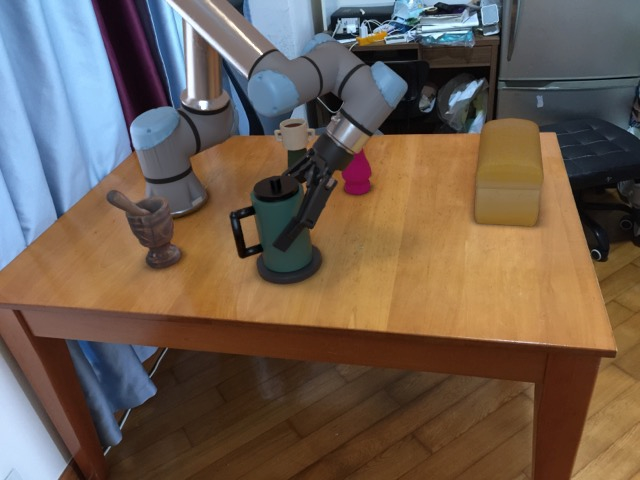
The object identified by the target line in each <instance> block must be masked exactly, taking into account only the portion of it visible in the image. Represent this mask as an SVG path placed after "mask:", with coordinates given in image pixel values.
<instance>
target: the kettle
mask: <svg viewBox="0 0 640 480" xmlns="http://www.w3.org/2000/svg"><path fill="white" fill-rule="evenodd" d="M303 185H304V184H301V183H299V182H298V181H297V179H295V178H294V177H291V176H285V175H282V174H280V175H271V176H268V177H265V178H263V179H260V180H259V181H257V182H256V183H255V184H254V185H253V188H252V190H251V191H250V194H249V197H250V203H251V205H249V206H245V207H242V208H239V209H236V210H233V211H231V212H230V213H229V214H228V218H229V222H230V226H231V230H232V235H233V238H234V243H235V248H236V252H237V256H238V257H239V259H242V260H243V259H247V258H250V257H253V256H256V255H258V254H259V255H260V254H261V253H262V256H263V261H264V264H265V266H266V267H267V268H268V269H270V270H272V271H276V272H291V271H295V270H298V269H301V268H303V267H304V266H306V265H307V264H308V263H309V262H310V261H311V260H312V257H313V251H312V244H313V243H312V238H311V231H310V230H311V229H309V228H307V227H305V228H304V229H303V230H302V232H301V233H300V234H299V235H298V237H297V238H296V239H295V240H294V242H293V243H292V244H291V245H290V247H289V248H288V249H287V250H286V252H285V253H284V252H282V251H281V250H279V249H277V248H275V247H273V245H272V244H273V242H274V241H275V240H276V239H277V237H278V236H279V235H280V234H281V232H282V231H283V230H284V228H285V227H286V226H287V225H288V223H289V222H290V221H291V220H292V217H294V216H297V214H298V212H299V209H300V206H301V204H302V201H303V198H304V195H305V190H304V186H303ZM326 205H327V203H326V204H325V206H324V208H323V210H325V208H326ZM251 216H253V218H254V221H255V226H256V232H257V237H258V241H259V243H257V244H254V245H252V246H251V245H250V246H248V247H247V245H246V240H245V236H244V232H243V228H242V223H241V220H242V219H245V218H249V217H251Z"/></svg>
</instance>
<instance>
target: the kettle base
mask: <svg viewBox="0 0 640 480" xmlns="http://www.w3.org/2000/svg"><path fill="white" fill-rule="evenodd" d="M311 244H312V251H313V257H312V260H311V261H310V262H309V263H308V264H307V265H306V266H304V267H303V268H301V269H298V270H295V271H291V272H276V271H272V270H270V269H268V268H267V267H266V266H265V264H264V261H263V256H262V253H259V255H258V256H257V259H256V270H257V273H258V275H259V277H260V278H262V280H264V281H266V282H267V283H271V284H275V285H292V284H297V283H301V282H303V281H306V280H308V279H309V278H311V277H313V276H314V275H315V274H316V273H317V272H318V271H319V270H320V268H321V267H322V255H321V251H320V249H319V248H318V247H317V246H316V245H314V244H313V243H311Z"/></svg>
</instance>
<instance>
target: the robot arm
mask: <svg viewBox="0 0 640 480" xmlns="http://www.w3.org/2000/svg"><path fill="white" fill-rule="evenodd" d="M164 1H165V2H166V3H167V4H168V5H169V6H170V7H171V8H172V9H173V10H174V11H175V12H176V13H177V14H178V15H179V16H180V17H181V27H182V41H183V42H182V43H183V60H184V73H185V88H184V89H183V90H182V91H181V92H180V95H179V96H180V97H179V100H180V107H179V108H175V107H173V106H159V107H157V108H152V109H149V110H146V111H145V112H143V113H141V114H140V115H138V116H137V117H136V118H134V120H133V121H132V122H131V124H130V127H129V131H130V137H131V143H132V146H133V148H134V150H135V151H134V152H135V154H136V157H137V160H138V162H139V166H140V168H141V171H142V172H141V173H142V175H143V178H144V182H145V190H144V191H145V193H144V198H149V197H163V198H165V199H167V200H168V205H169V208H170V212H171V215H172V218H173V219H178V218H181V217H185V216H188V215H191V214H193V213H195V212H197V211H198V210H200V209H202V207H204V205H206V203H207V201H208V194H207V191H206V188H205V186H204V185H203V182H201V180H200V179H199V177H198V176H197V174H196V173H195V171H194V168H193V166H192V161H191V158H192V157H194V156H196V155H198V154H201V153H202V152H205V151H207V150H210V149H212V148H214V147H216V146H218V145H221V144H224V143H225V142H227V140H230V139H231V138H233V136H235V134H236V133H237V131H238V128H239V125H240V115H239V111H238V109H236V107H237V105H236V102H235V101H234V100H233V99H232V98H231V96H230V95H229V93H228V92H227V90H225V89H224V83H223V81H224V80H223V77H224V75H223V74H224V72H223V69H224V67H223V63H224V62H223V59H224V60H225V61H226V62H227V63H228V64H229V65H231V67H232V68H234V70H235V71H237V73H238V74H240V75H241V76H242V77H243V79H245V81H247V82H248V83H247V95H248V99H249V101H250V102H251V103H252V105H253V106H252V107H253V108H254V110H255V111H256V112H257V113H258V114H260V116H263V117H266V118H275V117H278V116H282V115H285V114H288V113H291V112H292V111H294V110H296V109H297V108H300V106H303V105H305V104H306V103H308V102H310V101H313V100H316V99H318V98H320V97H322V96H324V95H327V94H329V93H332V94H333V95H334V96H336V97H337V98H338V99H339V100H340V101H341V102H344V103H343V104H342V106H341V107H340V108H339V110H338V111H337V112H336V114H335V115H332V116H331V117H330V121H329V123H328V125H327V126H326V128H325V129H326V131H323V132H321V133H320V134H319V136H318V138H316V139H315V140H314V143H313V144H312V146H311V147H310V148H309V149H307V152H306V153H305V155H304V156H302V157H301V158H300V159H299V160H298V161H297V162H295V163H294V164H293V165H292V166H291V167H289V168H288V167H287V169H286V170H285V171H284V172H282V173H281V175H285V176H291V177H294V178H295V179H297V181H298V182H299V183H301V184H302V185H304V183H305V188H306V190H305V192H304V198H303V201H302V204H301V206H300V209H299V212H298V214H297V216H294V217H292V220H291V221H290V222H289V223H288V225H287V226H286V227H285V228H284V230H283V231H282V232H281V234H280V235H279V236H278V237H277V239H276V240H275V241H274V242H273V244H272V245H273V247H275V248H277V249H279V250H281V251H282V252H284V253H285V252H286V250H287V249H288V248H289V247H290V245H291V244H292V243H293V242H294V240H295V239H296V238H297V237H298V235H299V234H300V233H301V232H302V230H303V229H304V228H305V227H307V228H309V230H311V231H312V230H313V229H314V228H315V226H316V224H317V222H318V220H319V218H320V216H321V215H322V212H323V210H324V209H325V208H324V206H325V204H326V205H327V202H328V201H329V198H330V197H331V194H332V193H333V192H334V190H335V188H336V187H337V185H338V184H339V181H338V180H337V179H335V178H334V177H333V175H335V172H336V171H339V172H342V171H345V170H346V168H347V167H348V166H349V165H350V163H351V162H352V161H353V160H354V157H355V156H354V153H356V154H358V153H359V152H360V151H361V150H362V149H363V150H364V148H365V146H366V145H367V144H368V143H369V141H370V140H371V139H372V137H373V136H374V134H375V133H376V132H377V130H378V129H379V128H380V127H381V126H382V124H383V123H384V122H385V121H386V120H387V119H388V117H389V116H390V115H391V113H392V112H393V111H394V110H395V109H396V108H397V106H398V104H399V103H400V102H401V100H402V99H403V98H404V96H405V94H406V93H407V91H408V82H407V81H406V80H405V79H403V78H402V77H401V76H400V75H399V74H397V72H395V71H394V70H393V69H391V67H389V66H388V65H386V64H385V63H384V62H383V61H382V60H381V61H380V60H378V61H376V62H375V63H373V64H372V65H371V66H370V65H367V64H366V63H365V62H364V61H362V59H360V58H359V57H358V56H357V55H355V54H354V53H353V51H351V50H350V49H348V48H347V47H346V46H345V45H344V44H343V43H342V42H340V41H339V40H337V39H335V37H332V36H331V35H330V34H328V33H326V32H320V33H317V34H315V35H313V37H312V38H311V39H309V40H307V41H306V43H305V44H304V46H303V47H302V49H301V52H300V55H299V56H298V57H294V58H292V59H289V58H288V57H287V56H286V55H285V54H284V53H283V52H281V50H280V49H278V48H277V47H276V46H275V45H274V44H273V43H272V42H271V41H270V39H268V38H267V37H265V35H264V34H263V33H262V32H260V31H259V29H257V27H255V26H254V25H253V24H252V23H251V22H250V21H249V20H248V19H247V18H246V17H245V16H244V15H242V13H240V12H239V11H238V10H237V8H235V7H234V5H232V3H230V2H229V1H228V0H164ZM325 207H326V206H325ZM323 208H324V209H323Z"/></svg>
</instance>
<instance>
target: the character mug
mask: <svg viewBox="0 0 640 480" xmlns="http://www.w3.org/2000/svg"><path fill="white" fill-rule="evenodd" d="M273 133H274V139H275V141H276V142H278V143H279V142H281V144H282V147H283V148H284V149H285V150H286V151H287V155H286V157H287V169H288V168H289V167H291V166H292V165H293V164H294V163H295V162H297V161H298V160H299V159H300V158H301V157H302V156H304V155H305V153H306V152H307V151H308V149H307V147H308V145H310V144H309V143H310V142H312V141H314V142H315V141H316V140H317V138H316V130H315V128H308V122H307V120H306V119H305V118H302V117H292V118H287V119H285V120H282V121H281V122H280V123H279V129H275V130H274V131H273ZM309 133H310V134H311V136H309V135H310V134H309ZM279 134H280V137H279Z"/></svg>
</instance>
